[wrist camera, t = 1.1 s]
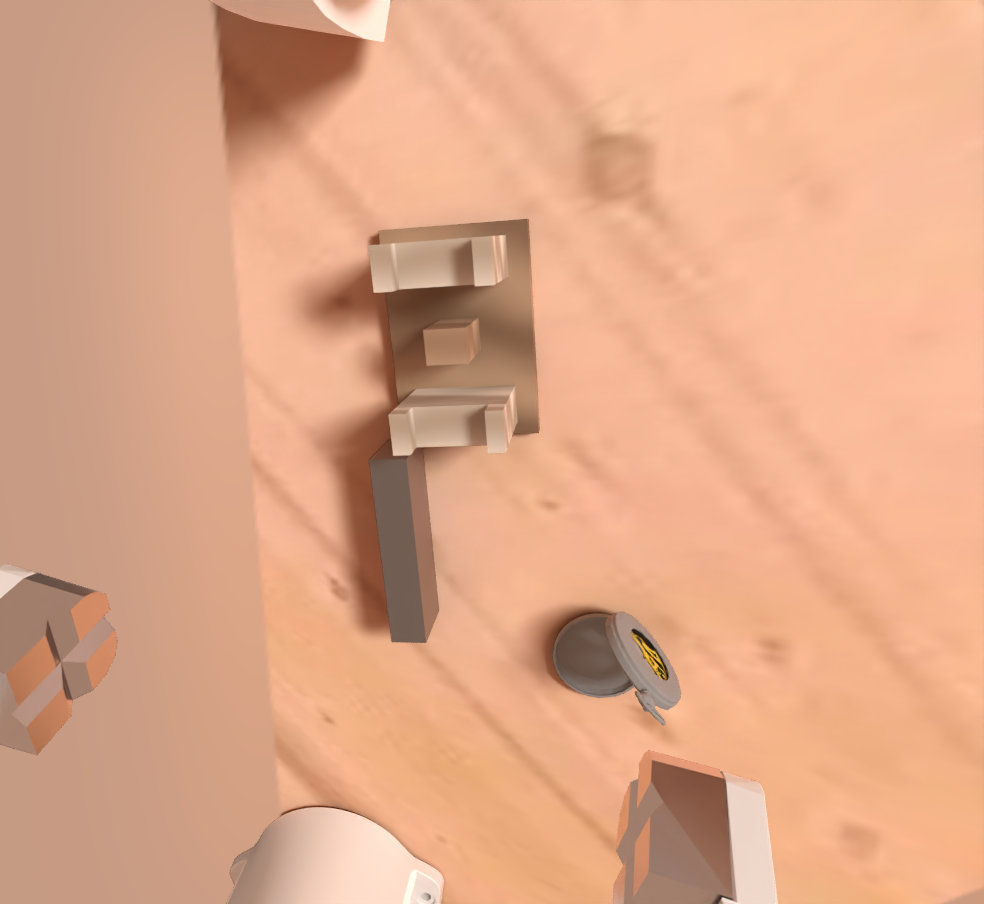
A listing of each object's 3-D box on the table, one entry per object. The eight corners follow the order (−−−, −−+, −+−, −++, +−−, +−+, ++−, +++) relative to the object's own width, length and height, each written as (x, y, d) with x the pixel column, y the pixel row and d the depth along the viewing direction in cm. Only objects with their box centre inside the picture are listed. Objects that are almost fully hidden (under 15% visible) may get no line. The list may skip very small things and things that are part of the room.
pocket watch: (543, 674, 51) (532, 776, 41) (574, 576, 48) (570, 661, 39) (651, 705, 50) (666, 815, 41) (689, 608, 48) (713, 702, 38)
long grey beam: (439, 608, 51) (426, 642, 46) (406, 608, 51) (390, 642, 47) (422, 438, 47) (406, 459, 43) (386, 439, 47) (367, 460, 43)
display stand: (539, 428, 45) (530, 465, 38) (405, 432, 46) (372, 469, 39) (528, 219, 41) (515, 217, 34) (383, 230, 43) (341, 230, 36)
